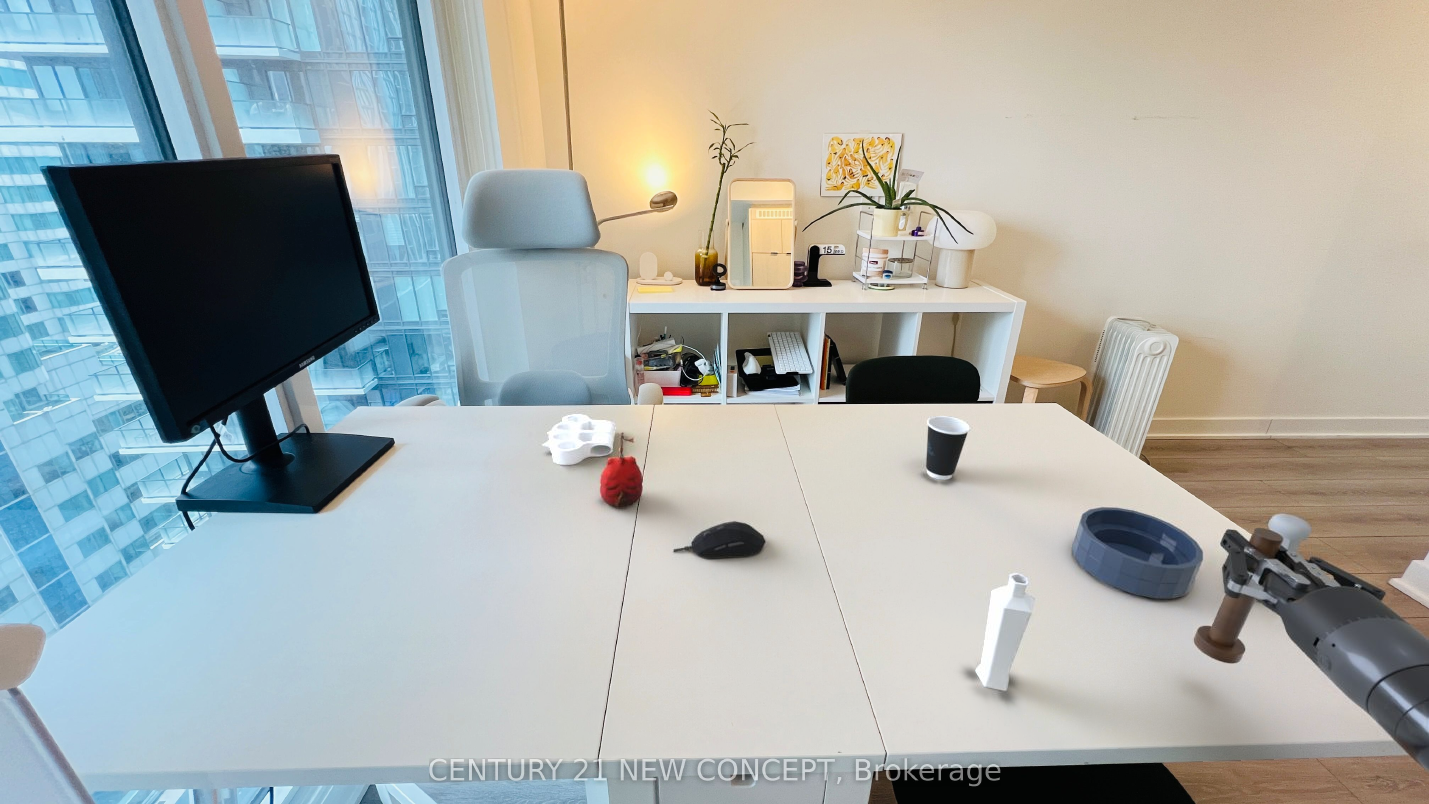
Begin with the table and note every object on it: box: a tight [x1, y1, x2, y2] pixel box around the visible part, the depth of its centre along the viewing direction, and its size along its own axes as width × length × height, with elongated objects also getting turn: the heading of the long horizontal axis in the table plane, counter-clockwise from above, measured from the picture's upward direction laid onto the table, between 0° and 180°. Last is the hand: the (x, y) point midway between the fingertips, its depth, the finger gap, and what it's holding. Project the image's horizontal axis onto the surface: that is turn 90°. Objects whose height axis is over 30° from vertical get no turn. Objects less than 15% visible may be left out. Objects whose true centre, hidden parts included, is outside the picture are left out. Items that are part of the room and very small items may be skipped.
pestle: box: [1193, 527, 1283, 665], centre depth 66 cm, size 4×4×16 cm
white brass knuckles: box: [542, 413, 617, 466], centre depth 128 cm, size 3×18×15 cm
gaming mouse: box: [673, 520, 766, 559], centre depth 95 cm, size 6×15×4 cm, turn 99°
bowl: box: [1071, 506, 1204, 600], centre depth 92 cm, size 16×16×6 cm
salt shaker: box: [1256, 513, 1313, 602], centre depth 85 cm, size 6×6×13 cm
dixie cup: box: [925, 415, 971, 481], centre depth 117 cm, size 8×8×11 cm
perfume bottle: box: [975, 572, 1036, 692], centre depth 70 cm, size 5×4×15 cm
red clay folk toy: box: [599, 432, 644, 509], centre depth 105 cm, size 8×7×15 cm
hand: (1242, 537), depth 67 cm, fingers closed on pestle, 2 cm apart
